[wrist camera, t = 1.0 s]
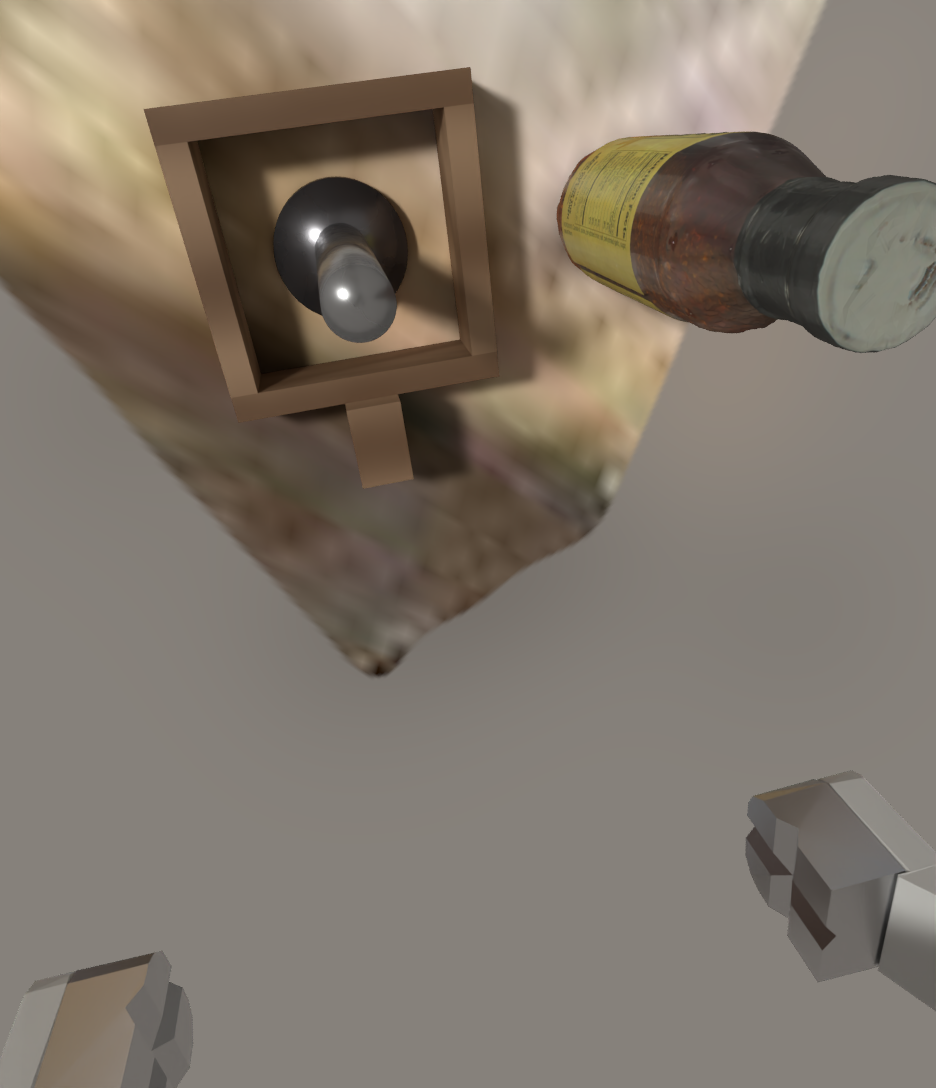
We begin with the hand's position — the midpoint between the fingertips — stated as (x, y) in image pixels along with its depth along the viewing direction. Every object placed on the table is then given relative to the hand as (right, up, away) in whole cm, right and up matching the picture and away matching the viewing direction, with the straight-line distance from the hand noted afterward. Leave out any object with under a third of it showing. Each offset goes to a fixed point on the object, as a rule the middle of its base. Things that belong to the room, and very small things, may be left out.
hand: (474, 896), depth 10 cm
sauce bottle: (+7, +21, +25) cm, 33 cm away
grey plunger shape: (-6, +18, +23) cm, 30 cm away
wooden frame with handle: (-6, +17, +24) cm, 30 cm away
